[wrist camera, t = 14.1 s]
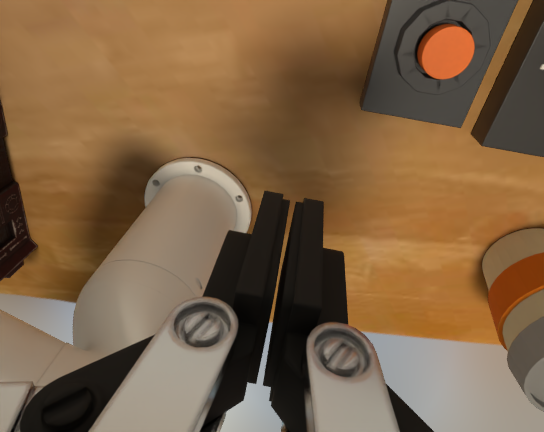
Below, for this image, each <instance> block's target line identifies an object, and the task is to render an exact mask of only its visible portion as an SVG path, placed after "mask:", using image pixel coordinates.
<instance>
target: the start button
mask: <svg viewBox="0 0 544 432" xmlns="http://www.w3.org/2000/svg"><path fill="white" fill-rule="evenodd" d="M474 49H475V44H474V40H473V37H472V35H471V34H470V33H469V32H468V31H467V30H466V29H464V28H462V27H459V26H456V25H453V24H442V25H439V26H436V27H434V28H433V29H431V30H430V31H429V32H428V33H427V34H426V35H425V36H424V37H423V39H422V40H421V42H420V44H419V47H418V52H417V58H418V62H419V65H420V66H421V68H422V69H423V70H424V71H425V72H426V73H427V74H428V75H430V76H431V77H433V78H436V79H449V78H452V77H455V76H456V75H458V74H460V73H461V72H462V71H463V70H464V69H465V68H466V67H467V66H468V65H469V63H470V62H471V60H472V57H473V55H474Z"/></svg>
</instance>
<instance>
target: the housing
mask: <svg viewBox="0 0 544 432" xmlns="http://www.w3.org/2000/svg"><path fill="white" fill-rule="evenodd" d="M517 2H518V0H388V1H387V5H386V8H385V12H384V16H383V19H382V23H381V27H380V30H379V34H378V37H377V41H376V45H375V48H374V52H373V56H372V59H371V63H370V66H369V70H368V74H367V77H366V81H365V85H364V88H363V92H362V96H361V99H360V107H361V110H364V111H369V112H375V113H380V114H386V115H392V116H397V117H403V118H408V119H414V120H419V121H425V122H430V123H436V124H441V125H447V126H452V127H458V128H461V126H462V124H463V122H464V120H465V117H466V115H467V113H468V111H469V109H470V106H471V104H472V102H473V100H474V97H475V95H476V93H477V91H478V88H479V86H480V84H481V82H482V80H483V77H484V75H485V73H486V71H487V68H488V66H489V64H490V62H491V59H492V57H493V55H494V53H495V51H496V48H497V46H498V44H499V42H500V39H501V37H502V35H503V33H504V31H505V28H506V26H507V24H508V22H509V19H510V17H511V15H512V13H513V10H514V8H515V6H516V4H517ZM442 24H453V25H456V26H459V27H462V28H464V29H466V30H467V31H468V32H469V33H470V34H471V35H472V37H473V40H474V44H475V49H474V55H473V57H472V60H471V62H470V63H469V65H468V66H467V67H466V68H465V69H464V70H463V71H462V72H461V73H460V74H458V75H456V76H455V77H452V78H449V79H436V78H433V77H431V76H430V75H428V74H427V73H426V72H425V71H424V70H423V69H422V68H421V66H420V65H419V62H418V58H417V52H418V47H419V44H420V42H421V40H422V39H423V37H424V36H425V35H426V34H427V33H428V32H429V31H430V30H431V29H433V28H434V27H436V26H439V25H442Z"/></svg>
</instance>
